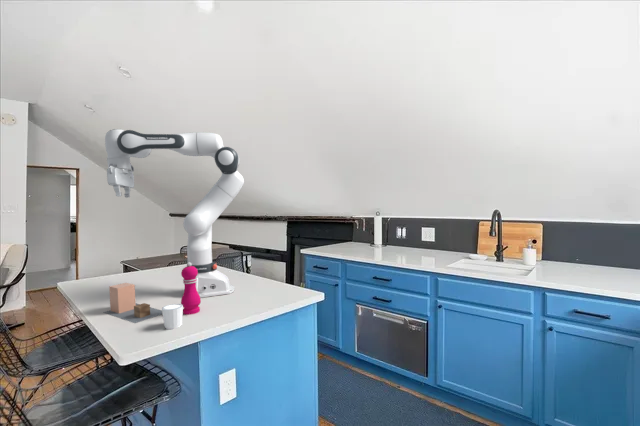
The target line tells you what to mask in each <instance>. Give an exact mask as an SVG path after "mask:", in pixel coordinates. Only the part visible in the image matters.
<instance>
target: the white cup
mask: <svg viewBox="0 0 640 426" xmlns="http://www.w3.org/2000/svg"><path fill="white" fill-rule="evenodd" d="M183 309H184V307H183V305H182V304H181V303H172V304H168V305H164V306H163V307H162V308H161V310H162V319H163V326H164V328H166V329H165V330H174V328H175V329H178V327H179V328H180V326H181V325H182V326H183V315H184V314H183ZM182 326H181V327H182Z"/></svg>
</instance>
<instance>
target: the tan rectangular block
mask: <svg viewBox="0 0 640 426" xmlns="http://www.w3.org/2000/svg"><path fill="white" fill-rule="evenodd" d="M135 286H136V285H135V284H133V283H129V282H123V283H118V284H114V285H110V286H109V287H108V289H109V304H110V305H109V306H110V310H111V311H113V312H116V313H122V312H126V311H129V310H133V309H134V306H136V290H135V289H136V288H135Z"/></svg>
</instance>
